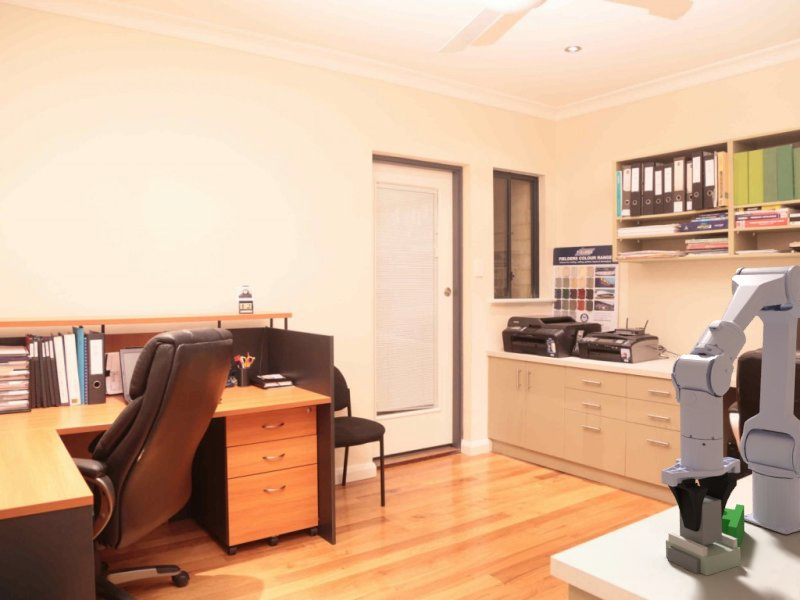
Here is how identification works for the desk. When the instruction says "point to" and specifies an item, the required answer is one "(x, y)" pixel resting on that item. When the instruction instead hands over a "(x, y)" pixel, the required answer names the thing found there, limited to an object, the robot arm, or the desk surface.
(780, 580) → the desk surface
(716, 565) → the pale grey-green blocky piece
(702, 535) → the dark grey block
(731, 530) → the pipe clamp
